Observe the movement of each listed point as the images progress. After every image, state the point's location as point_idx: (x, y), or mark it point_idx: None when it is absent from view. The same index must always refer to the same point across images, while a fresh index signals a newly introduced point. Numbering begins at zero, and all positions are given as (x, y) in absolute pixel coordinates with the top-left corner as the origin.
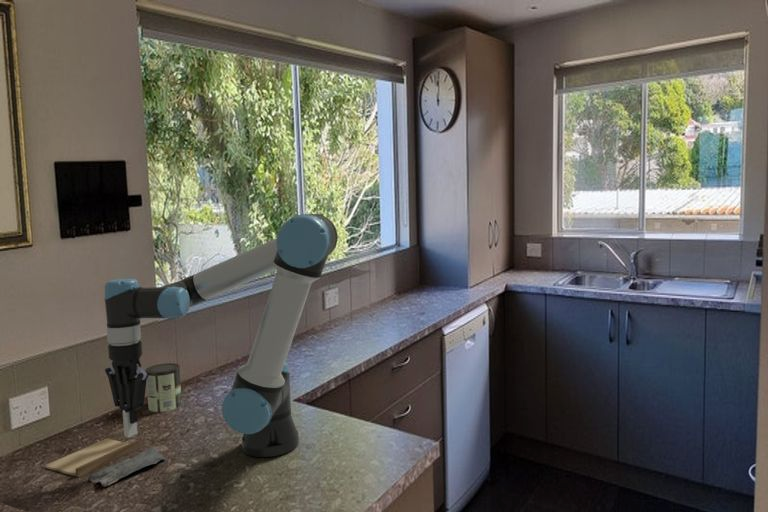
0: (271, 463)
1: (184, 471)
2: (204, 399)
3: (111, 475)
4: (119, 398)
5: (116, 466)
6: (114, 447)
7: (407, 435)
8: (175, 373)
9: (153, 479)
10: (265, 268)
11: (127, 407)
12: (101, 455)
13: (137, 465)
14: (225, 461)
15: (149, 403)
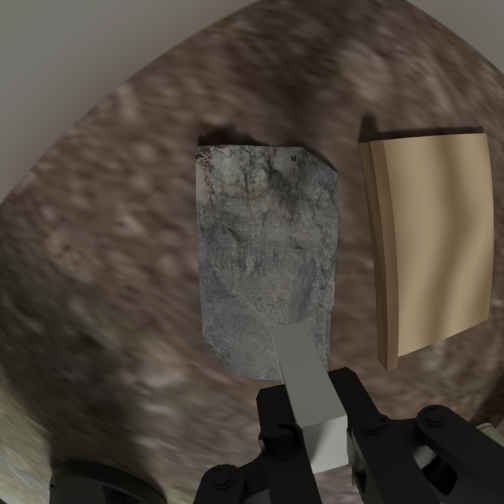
0: (34, 450)
1: (112, 360)
2: None
3: (249, 201)
4: (419, 477)
5: (309, 250)
6: (434, 311)
7: None
8: None
9: (129, 283)
10: None
11: (303, 458)
12: (425, 261)
13: (238, 294)
14: (97, 432)
15: (495, 438)
